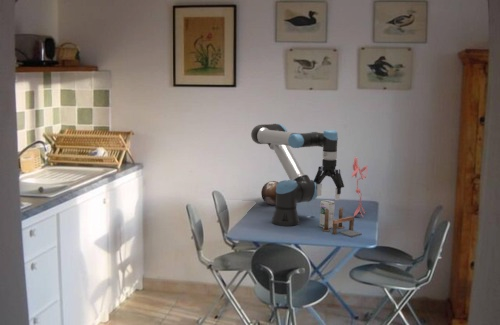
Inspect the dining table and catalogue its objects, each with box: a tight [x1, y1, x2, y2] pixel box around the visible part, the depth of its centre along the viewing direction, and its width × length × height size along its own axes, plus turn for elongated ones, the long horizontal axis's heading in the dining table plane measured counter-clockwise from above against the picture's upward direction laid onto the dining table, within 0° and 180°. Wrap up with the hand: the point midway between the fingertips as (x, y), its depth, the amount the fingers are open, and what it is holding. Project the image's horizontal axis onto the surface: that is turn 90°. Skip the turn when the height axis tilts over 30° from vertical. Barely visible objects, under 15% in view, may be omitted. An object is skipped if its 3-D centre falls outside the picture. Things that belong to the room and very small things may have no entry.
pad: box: [339, 229, 362, 238], centre depth 313 cm, size 8×8×1 cm
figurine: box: [344, 156, 368, 218], centre depth 354 cm, size 15×26×35 cm, turn 163°
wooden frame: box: [321, 207, 355, 235], centre depth 320 cm, size 10×15×11 cm, turn 129°
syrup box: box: [319, 199, 336, 229], centre depth 326 cm, size 6×6×14 cm
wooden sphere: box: [261, 180, 279, 206], centre depth 377 cm, size 15×15×15 cm
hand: (328, 197), depth 324 cm, fingers open, 13 cm apart
